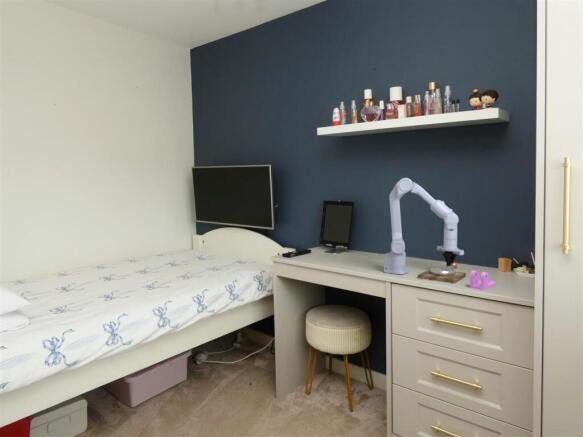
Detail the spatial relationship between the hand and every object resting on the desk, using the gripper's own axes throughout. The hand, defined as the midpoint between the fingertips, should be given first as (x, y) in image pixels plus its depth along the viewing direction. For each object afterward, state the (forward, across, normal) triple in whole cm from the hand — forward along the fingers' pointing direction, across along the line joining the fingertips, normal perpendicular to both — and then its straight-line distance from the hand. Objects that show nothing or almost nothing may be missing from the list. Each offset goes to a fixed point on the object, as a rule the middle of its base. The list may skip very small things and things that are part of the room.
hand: (449, 268), depth 195 cm
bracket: (+3, -22, +3) cm, 22 cm away
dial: (+1, -2, +5) cm, 6 cm away
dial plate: (+3, -2, +7) cm, 8 cm away
